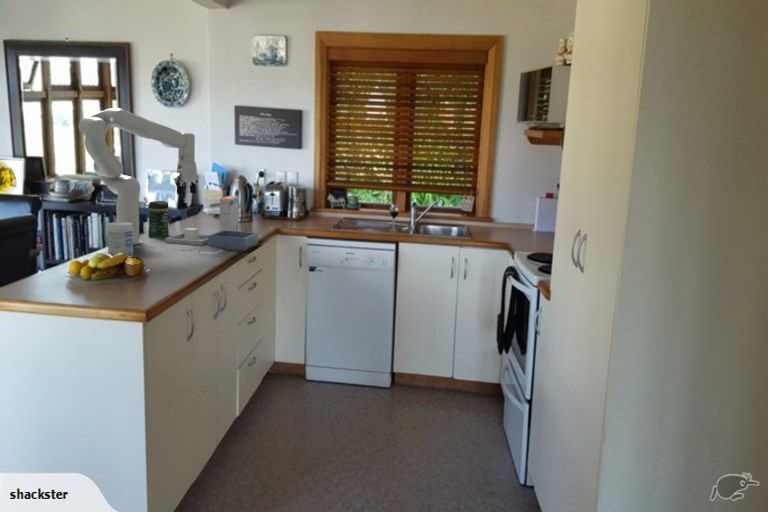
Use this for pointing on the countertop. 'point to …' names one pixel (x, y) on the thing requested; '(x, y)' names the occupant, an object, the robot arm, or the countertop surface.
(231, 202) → the cracker box
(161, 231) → the coffee jar
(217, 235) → the bin
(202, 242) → the tray
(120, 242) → the supplement tub
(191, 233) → the stone block
